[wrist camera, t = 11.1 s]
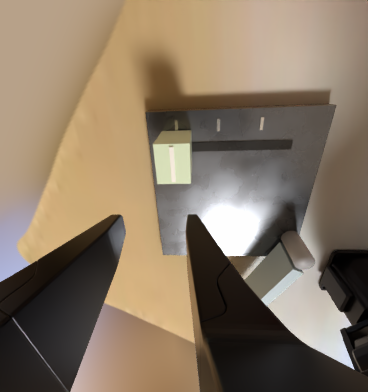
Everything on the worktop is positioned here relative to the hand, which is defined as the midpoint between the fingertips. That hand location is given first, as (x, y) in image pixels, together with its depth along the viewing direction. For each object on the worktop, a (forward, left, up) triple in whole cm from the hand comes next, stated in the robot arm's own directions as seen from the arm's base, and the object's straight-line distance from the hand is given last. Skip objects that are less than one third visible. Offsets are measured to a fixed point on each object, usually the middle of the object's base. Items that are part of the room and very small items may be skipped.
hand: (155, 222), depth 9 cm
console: (-5, +5, -12) cm, 14 cm away
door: (-9, +15, -11) cm, 21 cm away
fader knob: (0, 0, -11) cm, 11 cm away
